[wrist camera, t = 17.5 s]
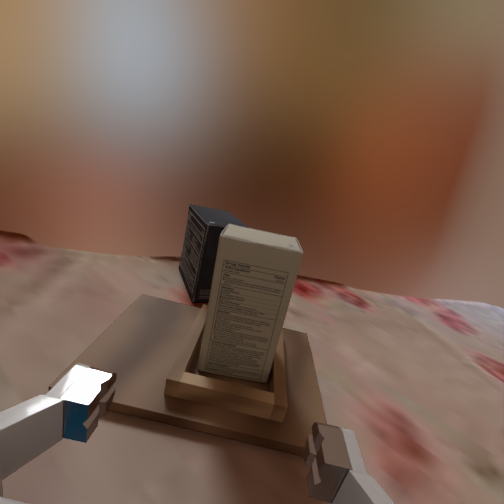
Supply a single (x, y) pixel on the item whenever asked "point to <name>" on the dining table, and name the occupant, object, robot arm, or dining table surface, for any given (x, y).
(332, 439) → the robot arm
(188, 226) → the small box
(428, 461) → the dining table surface
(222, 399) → the wooden board with frame
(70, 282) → the dining table surface
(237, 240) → the skincare box
